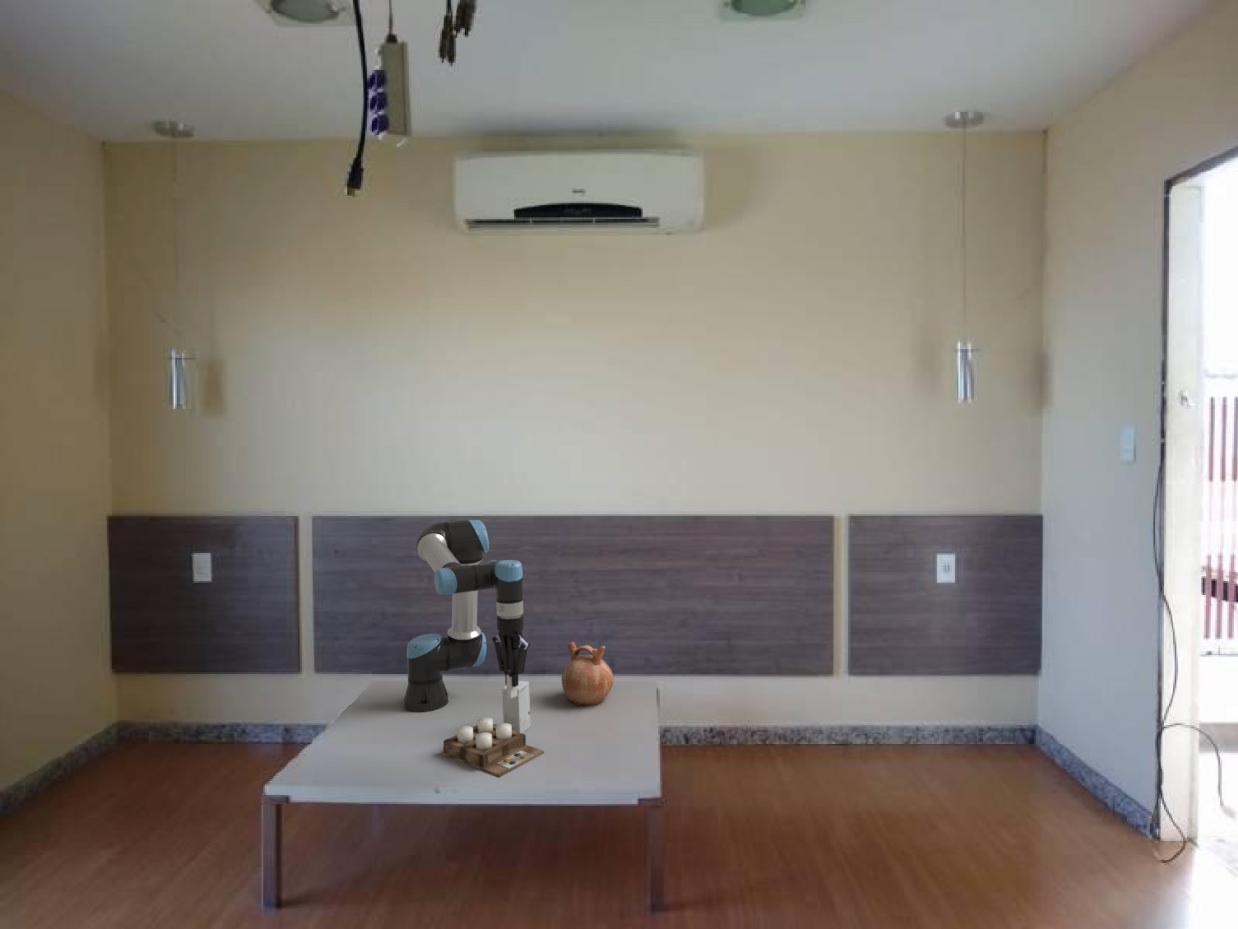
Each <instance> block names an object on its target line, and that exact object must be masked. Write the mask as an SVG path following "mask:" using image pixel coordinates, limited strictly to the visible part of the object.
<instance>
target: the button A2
mask: <svg viewBox="0 0 1238 929" xmlns="http://www.w3.org/2000/svg"><path fill="white" fill-rule="evenodd" d="M493 724H494V719H493V718H492V717H489V716H487V717H485V716H484V717H480V718H478V719H477V725H478V733H491V732H493Z"/></svg>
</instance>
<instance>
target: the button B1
mask: <svg viewBox="0 0 1238 929" xmlns="http://www.w3.org/2000/svg"><path fill="white" fill-rule="evenodd" d="M490 748H492V734H491V733H479V734H477V735H476V749H478V750H480V751H483V752H484V751H486V750H488V749H490Z"/></svg>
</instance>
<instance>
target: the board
mask: <svg viewBox="0 0 1238 929" xmlns="http://www.w3.org/2000/svg"><path fill="white" fill-rule="evenodd" d="M497 725H498V724H495V723H493V732H491V734H492V748H490V749H488V750H486V751H484V752H483V751H480V750H478V749H476V735H477V734H479V733H478V724H477V725H475V726H472V728H473V741H471V742H469V743H467V744H465V745H464V744H461V743H459V742H458V741H457V734H455V735H453V736H451V737H448V738H447V739H445V740H443V752H442V753H441V754H442V755H443V756H444V757H448V758H450V759H453V760H455V761H458V762H460V763H463V764H466V765H468V766H470V767H473V768H476V769H479V770H481V771H484V772H486V773H489V774H492V775H494V776H495V777H496V776H497V777H498V778H501V777H502V776H505V775H507V774H508V773H510V772H512V771H514V770H516V769H517V768H519V767H521V766H523V765H524V764H527V763H528V762H530V761H532V760H534V759H536V758H538V757H540V756H541V755H543V754H545V750H542V749H540V748H536V747H534V746H531V745H528V744H527V742H526V741H527V739H526V734H524V733H523V734H522V733H519V732H516V731H513V730H512V738H510V739H508V740H506V741H504V742H503V741H500V740H498V739H496V726H497Z"/></svg>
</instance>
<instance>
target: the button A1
mask: <svg viewBox="0 0 1238 929" xmlns="http://www.w3.org/2000/svg"><path fill="white" fill-rule="evenodd" d="M456 735H457V741H458V742H459V743H461V744H464V745H465V744H467V743H469V742H471V741H473V726H469V725H464V726H460V727H458V728H457V729H456Z"/></svg>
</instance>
